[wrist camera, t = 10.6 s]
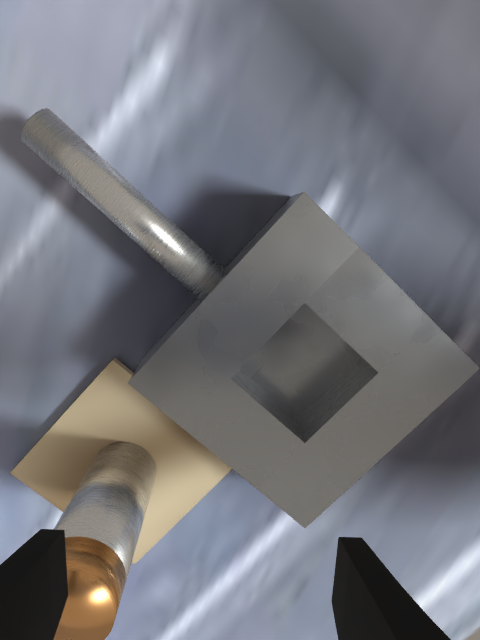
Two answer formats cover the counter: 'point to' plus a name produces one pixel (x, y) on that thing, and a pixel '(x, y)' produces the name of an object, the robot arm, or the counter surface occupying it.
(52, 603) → the robot arm
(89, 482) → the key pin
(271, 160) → the counter surface
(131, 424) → the cork mat
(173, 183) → the counter surface
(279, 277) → the block
